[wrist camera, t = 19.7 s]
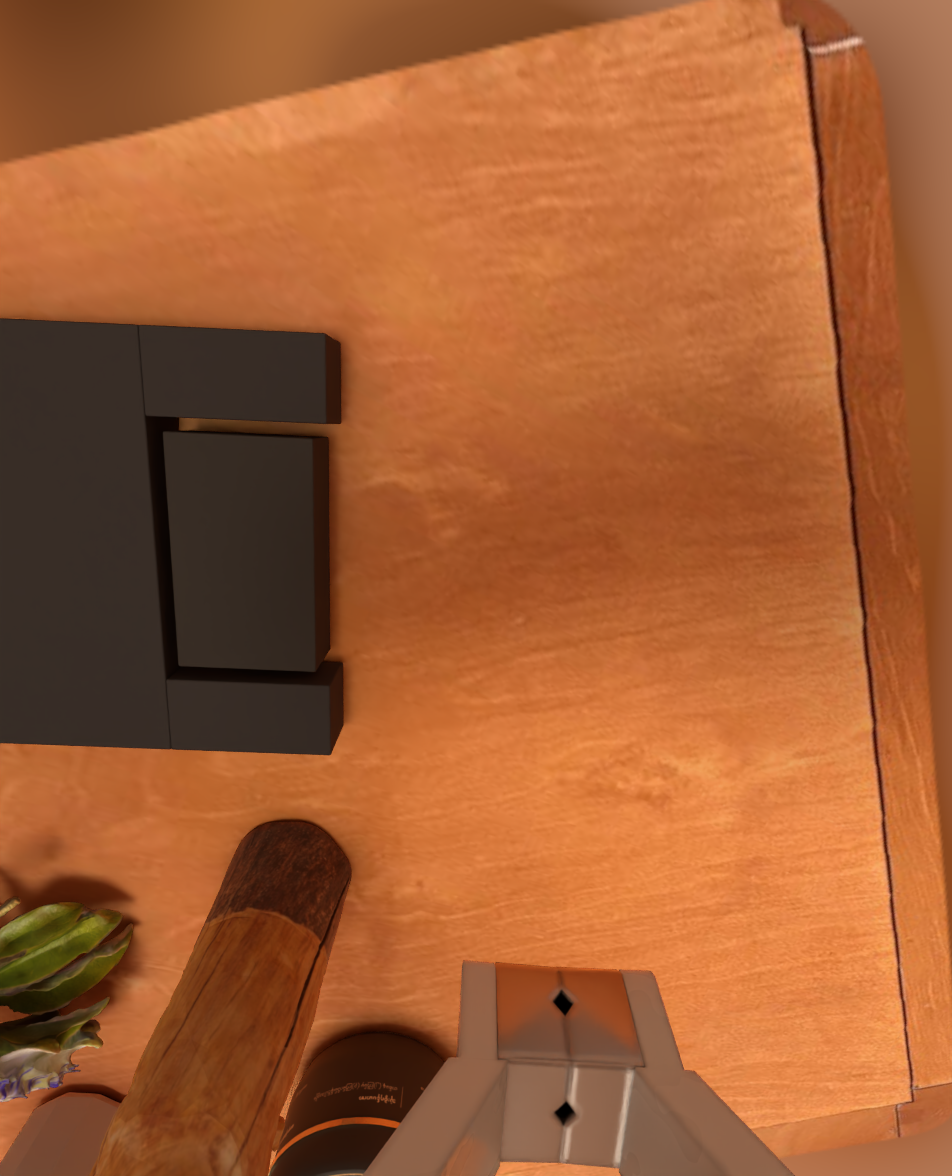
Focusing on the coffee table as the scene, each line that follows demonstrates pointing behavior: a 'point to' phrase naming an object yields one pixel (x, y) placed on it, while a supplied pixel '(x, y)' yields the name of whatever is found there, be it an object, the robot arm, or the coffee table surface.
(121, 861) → the coffee table surface
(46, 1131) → the water bottle
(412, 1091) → the jar
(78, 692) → the base pad
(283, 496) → the black pad
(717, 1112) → the robot arm
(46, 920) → the passion flower
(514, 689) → the coffee table surface
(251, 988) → the sculpture
